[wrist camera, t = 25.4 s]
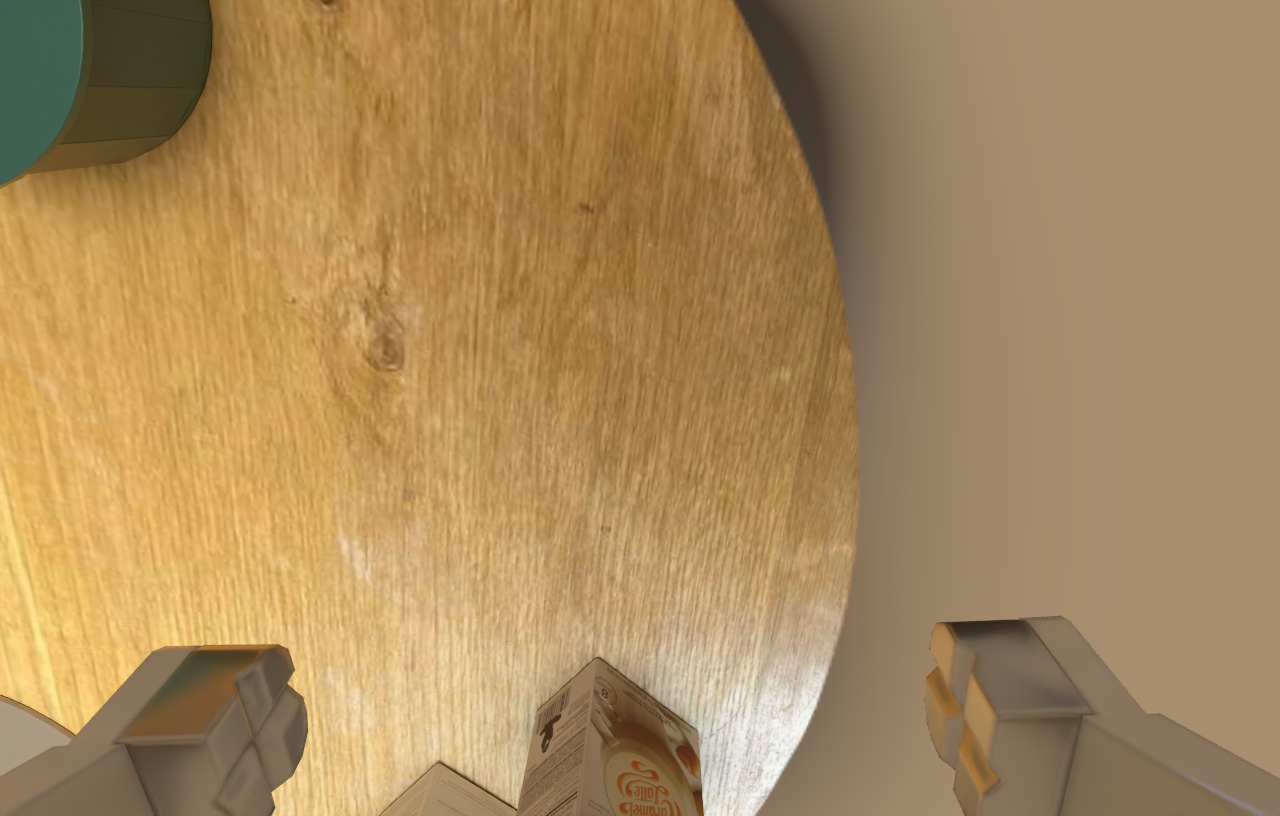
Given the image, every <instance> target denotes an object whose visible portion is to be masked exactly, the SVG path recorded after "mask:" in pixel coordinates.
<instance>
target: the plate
mask: <svg viewBox="0 0 1280 816" xmlns="http://www.w3.org/2000/svg"><path fill="white" fill-rule="evenodd" d="M74 737H75V735H73V734H72V733H71V732H69V731H68V730H66V729H65V728H63V727H61V726H60V725H58V724H57V723H55V722H53V721H52V720H50V719H48V718H47V717H45V716H43V715H41V714H39V713H38V712H36V711H34V710H32V709H31V708H29V707H26V706H24V705H22V704H20V703H17V702H15V701H13V700H11V699H8V698H6V697H3V696H1V695H0V776H2V775H3V774H5V773H7V772H9V771H11V770H12V769H14V768H16V767H18V766H19V765H21V764H23V763H25V762H27V761H28V760H30V759H32V758H34V757H35V756H37V755H39V754H41V753H42V752H44V751H46V750H48V749H50V748H51V747H53V746H67V745H68V744H69V743H70V741H71V740H72V739H73V738H74Z"/></svg>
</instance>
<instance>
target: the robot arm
mask: <svg viewBox="0 0 1280 816" xmlns="http://www.w3.org/2000/svg"><path fill="white" fill-rule="evenodd" d="M930 651H931V653H932V655H933V657H934V659H935V661H936V663H937V665H938V666H937V667H936V668H935V669H934V670H933V671H932V672H931V673H930V674H929V675H928V676H927V677H926V684H925V696H924V702H925V711H926V720H927V725H928V729H929V732H930V736H931V739H932V742H933V744H934V747H935V749H936V752H937V754H938V756H939V758H940V759H941V760H943V761H944V762H945V763H947V764H948V765H949V766H950V767H952V768H953V769H954V770H956V773H955V780H954V788H953V790H954V793H955V795H956V797H957V799H958V802H959V804H960V806H961V808H962V811H963V813H964V815H965V816H1280V779H1279V778H1277V777H1275V776H1274V775H1272V774H1270V773H1268V772H1266V771H1265V770H1263V769H1261V768H1259V767H1257V766H1255V765H1254V764H1252V763H1250V762H1248V761H1246V760H1244V759H1242V758H1241V757H1239V756H1237V755H1235V754H1233V753H1231V752H1230V751H1228V750H1226V749H1224V748H1222V747H1220V746H1218V745H1217V744H1215V743H1213V742H1211V741H1209V740H1208V739H1206V738H1204V737H1202V736H1200V735H1198V734H1197V733H1195V732H1193V731H1191V730H1189V729H1187V728H1186V727H1184V726H1182V725H1180V724H1178V723H1176V722H1175V721H1173V720H1171V719H1169V718H1167V717H1165V716H1164V715H1162V714H1146V713H1145V711H1144V710H1143V709H1142V708H1141V707H1140V705H1139V704H1138V703H1137V702H1136V700H1135V699H1134V698H1133V697H1132V696H1131V694H1130V693H1129V692H1128V691H1127V690H1126V688H1125V687H1124V686H1123V685H1122V683H1121V682H1120V681H1119V680H1118V679H1117V677H1116V676H1115V675H1114V674H1113V672H1112V671H1111V670H1110V669H1109V668H1108V666H1107V665H1106V664H1105V663H1104V661H1103V660H1102V659H1101V658H1100V657H1099V655H1098V654H1097V653H1096V652H1095V650H1094V649H1093V648H1092V647H1091V646H1090V644H1089V643H1088V642H1087V641H1086V639H1085V638H1084V637H1083V636H1082V635H1081V633H1080V632H1079V631H1078V630H1077V629H1076V627H1075V626H1074V625H1073V624H1072V622H1071V621H1069V620H1067V619H1065V618H1064V617H1062V616H1051V617H1032V618H1019V619H1018V620H994V621H993V620H991V621H967V622H942V623H936V624H935V626H934V629H933V631H932V633H931V641H930ZM294 671H295V668H294V665H293V662H292V659H291V656H290V653H289V650H288V649H287V648H285V647H283V646H281V645H279V644H263V645H203V646H165V647H163V648H160V649H158V650H155V651H153V652H152V653H151V654H150V655H149V656H148V657H147V658H146V659H145V660H144V661H143V663H142V664H141V665H140V666H139V667H138V668H137V669H136V670H135V671H134V672H133V674H132V675H131V676H130V677H129V678H128V679H127V680H126V681H125V682H124V683H123V685H122V686H121V687H120V688H119V689H118V690H117V691H116V692H115V693H114V694H113V695H112V697H111V698H110V699H109V700H108V701H107V702H106V703H105V704H104V705H103V706H102V708H101V709H100V710H99V711H98V712H97V713H96V714H95V715H94V716H93V717H92V718H91V720H90V721H89V722H88V723H87V724H86V725H85V726H84V727H83V728H82V729H81V731H80V732H79V733H78V734H77V735H76V736H75V737H74V738H73V739H72V740H71V741H70V743H69V744H68V745H67V746H53V747H51V748H50V749H48V750H46V751H44V752H42V753H41V754H39V755H37V756H35V757H34V758H32V759H30V760H28V761H27V762H25V763H23V764H21V765H19V766H18V767H16V768H14V769H12V770H11V771H9V772H7V773H5V774H3V775H2V776H0V816H271V815H272V813H273V811H274V810H275V804H274V800H273V797H272V793H271V792H272V791H274V790H275V789H276V788H277V787H279V786H280V785H281V784H283V783H284V782H285V781H286V780H288V779H289V778H290V777H292V776H293V774H294V772H295V770H296V768H297V766H298V764H299V762H300V760H301V758H302V755H303V751H304V746H305V742H306V738H307V733H308V722H307V710H306V707H305V703H304V699H303V697H302V696H301V695H300V694H298V693H297V692H296V691H295V690H294V689H293V688H291V687H290V686H289V685H288V684H287V683H288V681H289V679H290V678H291V676H292V674H293V672H294Z"/></svg>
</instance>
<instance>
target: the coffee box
mask: <svg viewBox="0 0 1280 816" xmlns="http://www.w3.org/2000/svg"><path fill="white" fill-rule="evenodd" d="M516 816H704V812H703V799H702V784H701V767H700V754H699V741H698V733H697V732H696V731H695V730H694V729H692V728H691V727H690V726H688V725H687V724H686V723H684V722H683V721H682V720H680V719H679V718H678V717H676V716H675V715H674V714H673V713H671V712H670V711H668V710H667V709H666V708H664V707H663V706H662V705H660V704H659V703H658V702H657V701H655V700H654V699H653V698H651V697H650V696H649V695H647V694H646V693H645V692H643V691H642V690H641V689H639V688H638V687H637V686H635V685H634V684H633V683H631V682H630V681H629V680H627V679H626V678H625V677H623V676H622V675H621V674H620V673H618V672H617V671H615V670H614V669H613V668H611V667H610V666H609V665H607V664H606V663H605V662H603V661H602V660H600V659H599V658H597V659H595V660H593V661H592V662H591V663H590V664H589V665H588V666H587V667H585V668H584V669H583V670H582V671H581V672H580V673H579V674H578V675H577V676H576V677H574V678H573V679H572V680H571V681H570V682H569V683H568V684H567V685H566V686H564V687H563V688H562V689H561V690H560V691H559V692H558V693H557V694H556V695H555V696H553V697H552V698H551V699H550V700H549V701H548V702H547V703H546V704H545V705H543V706H542V707H541V708H540V709H539V710H538V711H537V714H536V718H535V724H534V729H533V734H532V739H531V744H530V750H529V754H528V759H527V764H526V769H525V774H524V779H523V784H522V789H521V794H520V799H519V804H518V809H517V815H516Z"/></svg>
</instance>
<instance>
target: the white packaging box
mask: <svg viewBox="0 0 1280 816" xmlns="http://www.w3.org/2000/svg"><path fill="white" fill-rule="evenodd" d="M516 815H517V811H516V810H514V809H513V808H511V807H509V806H508V805H506V804H504V803H503V802H501V801H499V800H498V799H496V798H495V797H493V796H491V795H490V794H488V793H487V792H485V791H483V790H482V789H480V788H478V787H477V786H475V785H474V784H472V783H470V782H469V781H467V780H466V779H464V778H462V777H461V776H459V775H458V774H456V773H454V772H453V771H451V770H449V769H448V768H446V767H445V766H443V765H441V764H440V763H437V764H436V765H435V766H434V767H433V768H431V769H430V770H429V771H428V772H427V773H426V774H425V775H424V776H423V777H422V778H420V779H419V780H418V781H417V782H416V783H415V784H414V785H413V786H412V787H410V788H409V789H408V790H407V791H406V792H405V793H404V794H403V795H402V796H401V797H399V798H398V799H397V800H396V801H395V802H394V803H393V804H392V805H391V806H390V807H389V808H387V809H386V810H385V811H384V812H383V813H382V814H381V815H380V816H516Z"/></svg>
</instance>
